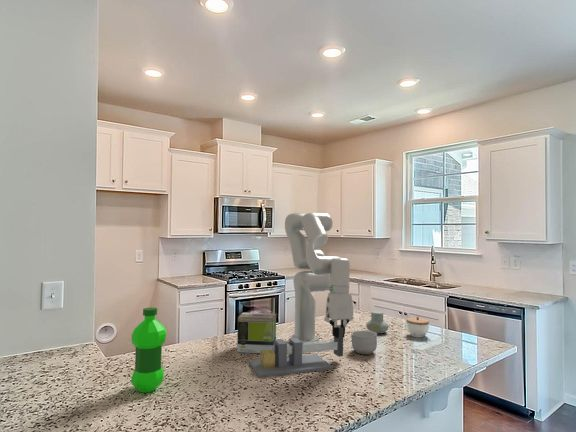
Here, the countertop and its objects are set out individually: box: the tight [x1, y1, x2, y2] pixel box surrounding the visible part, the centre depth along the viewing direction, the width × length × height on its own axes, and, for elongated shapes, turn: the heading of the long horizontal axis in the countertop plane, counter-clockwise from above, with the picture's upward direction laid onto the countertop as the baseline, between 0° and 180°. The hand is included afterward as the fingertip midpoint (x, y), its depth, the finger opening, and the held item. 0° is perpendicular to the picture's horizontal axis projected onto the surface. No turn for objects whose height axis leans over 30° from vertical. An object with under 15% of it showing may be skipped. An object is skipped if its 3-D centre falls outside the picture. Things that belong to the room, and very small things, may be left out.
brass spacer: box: [259, 350, 275, 369], centre depth 139 cm, size 5×5×4 cm
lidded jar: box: [405, 316, 430, 338], centre depth 188 cm, size 11×11×9 cm
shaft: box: [287, 324, 344, 357], centre depth 145 cm, size 4×24×11 cm, turn 110°
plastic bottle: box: [130, 306, 167, 393], centre depth 120 cm, size 10×10×25 cm
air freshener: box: [365, 310, 389, 335], centre depth 193 cm, size 11×8×10 cm
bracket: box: [248, 337, 333, 378], centre depth 142 cm, size 14×28×10 cm, turn 110°
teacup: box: [350, 329, 378, 355], centre depth 162 cm, size 14×11×8 cm
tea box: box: [236, 312, 277, 354], centre depth 161 cm, size 15×10×15 cm, turn 84°
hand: (338, 336), depth 149 cm, fingers closed on shaft, 2 cm apart
